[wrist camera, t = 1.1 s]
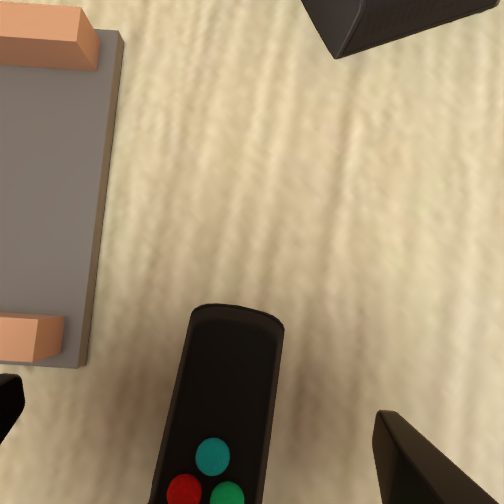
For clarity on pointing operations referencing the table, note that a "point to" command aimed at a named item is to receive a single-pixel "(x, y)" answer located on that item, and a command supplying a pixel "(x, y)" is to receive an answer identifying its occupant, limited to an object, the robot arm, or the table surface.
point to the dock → (52, 177)
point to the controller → (221, 409)
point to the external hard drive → (382, 20)
